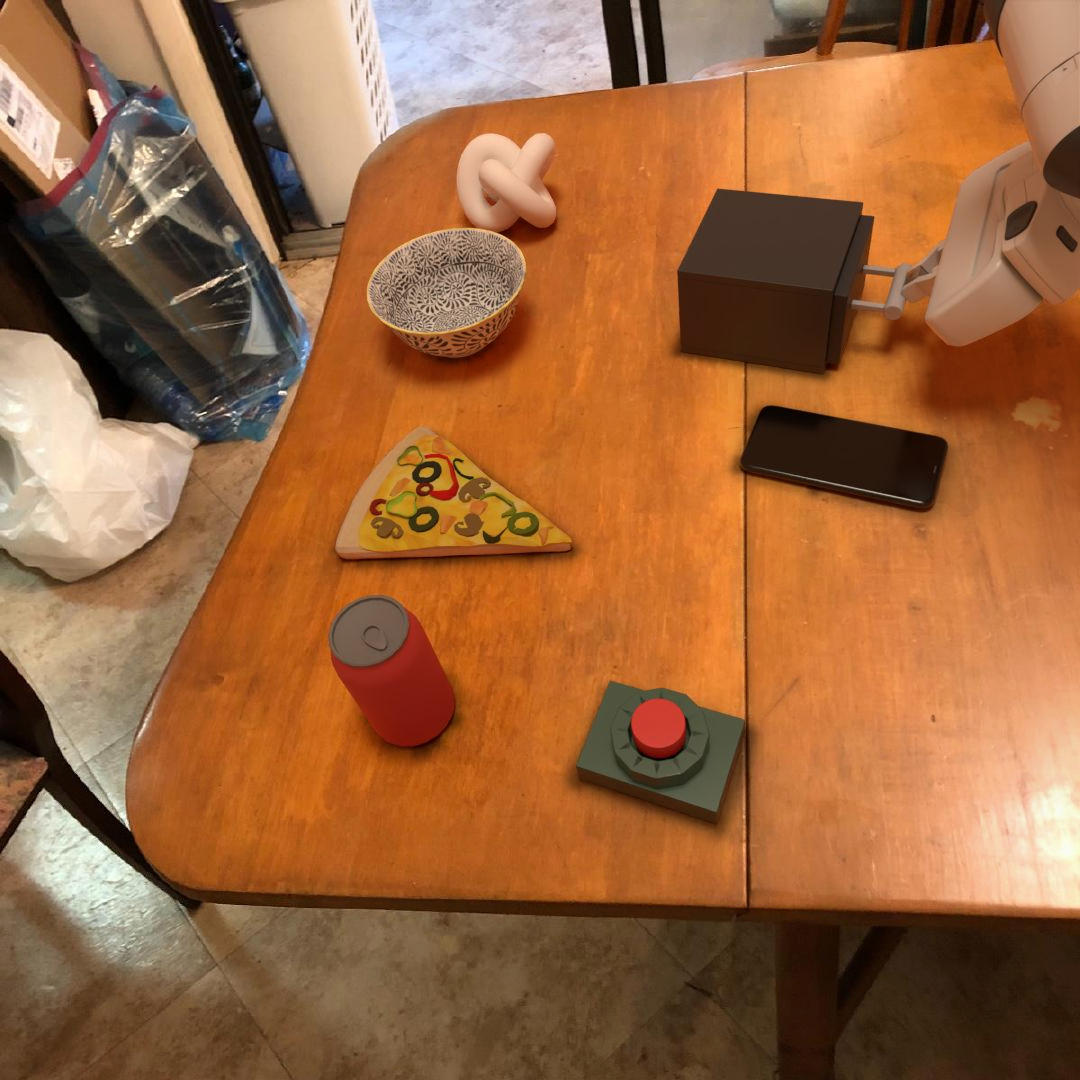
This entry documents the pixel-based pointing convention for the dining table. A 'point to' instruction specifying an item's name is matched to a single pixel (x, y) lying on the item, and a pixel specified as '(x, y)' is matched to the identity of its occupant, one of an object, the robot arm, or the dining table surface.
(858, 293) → the pull-out drawer
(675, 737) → the button
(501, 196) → the white knot sculpture
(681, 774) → the control block
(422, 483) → the pizza slice
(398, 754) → the dining table surface
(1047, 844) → the dining table surface
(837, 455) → the smartphone
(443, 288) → the bowl
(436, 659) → the beer can
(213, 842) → the dining table surface
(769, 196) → the drawer cabinet
